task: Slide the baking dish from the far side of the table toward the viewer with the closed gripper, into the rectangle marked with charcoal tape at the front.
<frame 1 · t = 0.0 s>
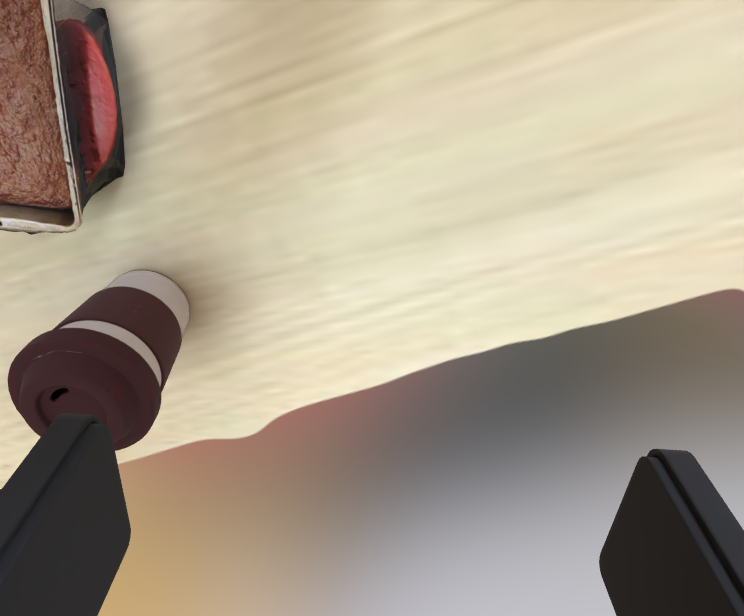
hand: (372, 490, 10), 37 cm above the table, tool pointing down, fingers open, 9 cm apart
coffee cup: (151, 303, 51), on the table
baking dish: (39, 85, 42), on the table
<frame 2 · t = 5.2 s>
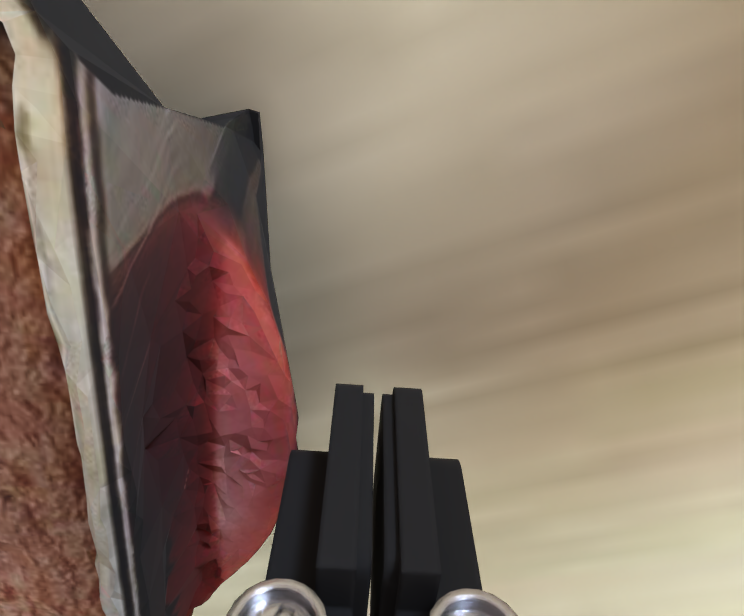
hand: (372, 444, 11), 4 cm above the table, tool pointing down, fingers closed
baking dish: (30, 307, 14), on the table, touching gripper
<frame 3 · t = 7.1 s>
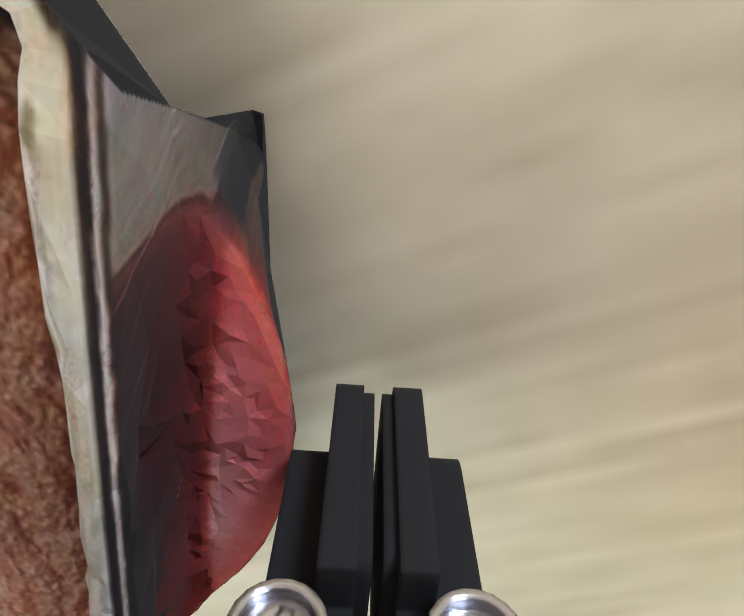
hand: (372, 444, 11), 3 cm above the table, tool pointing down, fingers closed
baking dish: (21, 306, 14), on the table, touching gripper
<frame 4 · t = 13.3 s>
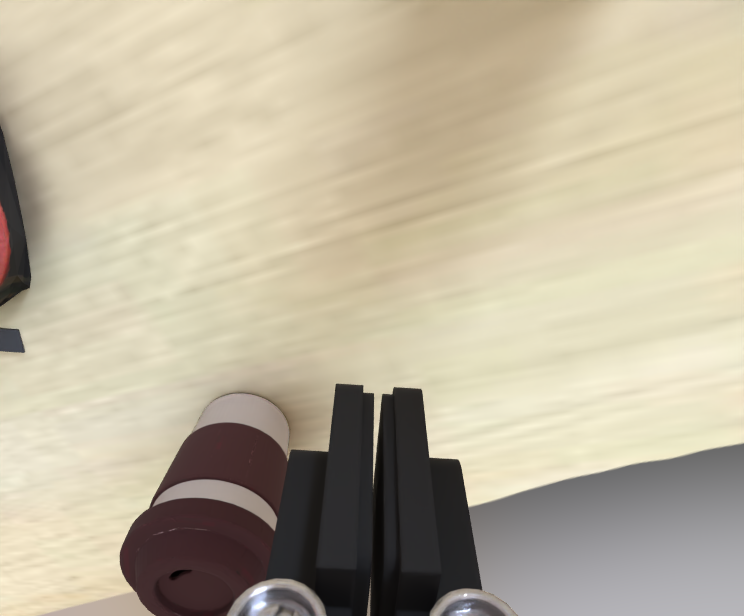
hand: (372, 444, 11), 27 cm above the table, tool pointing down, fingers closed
coffee cup: (246, 424, 47), on the table
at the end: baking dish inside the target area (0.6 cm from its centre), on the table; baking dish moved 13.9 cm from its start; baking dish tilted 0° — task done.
